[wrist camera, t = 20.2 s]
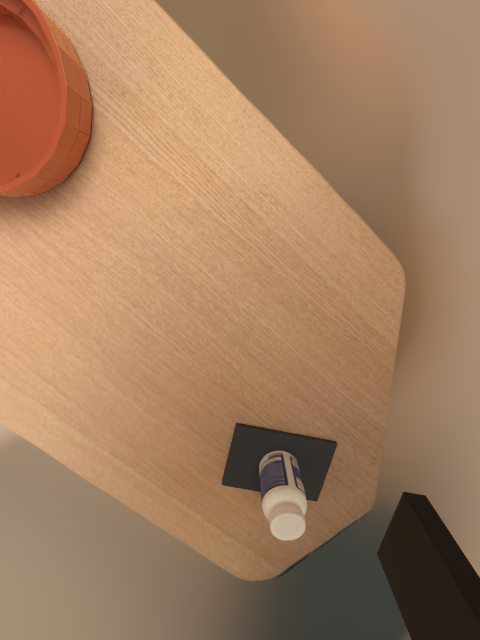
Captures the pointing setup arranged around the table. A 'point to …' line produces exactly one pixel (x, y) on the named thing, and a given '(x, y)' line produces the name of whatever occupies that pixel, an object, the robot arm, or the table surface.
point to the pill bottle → (283, 495)
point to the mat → (260, 441)
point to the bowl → (39, 101)
